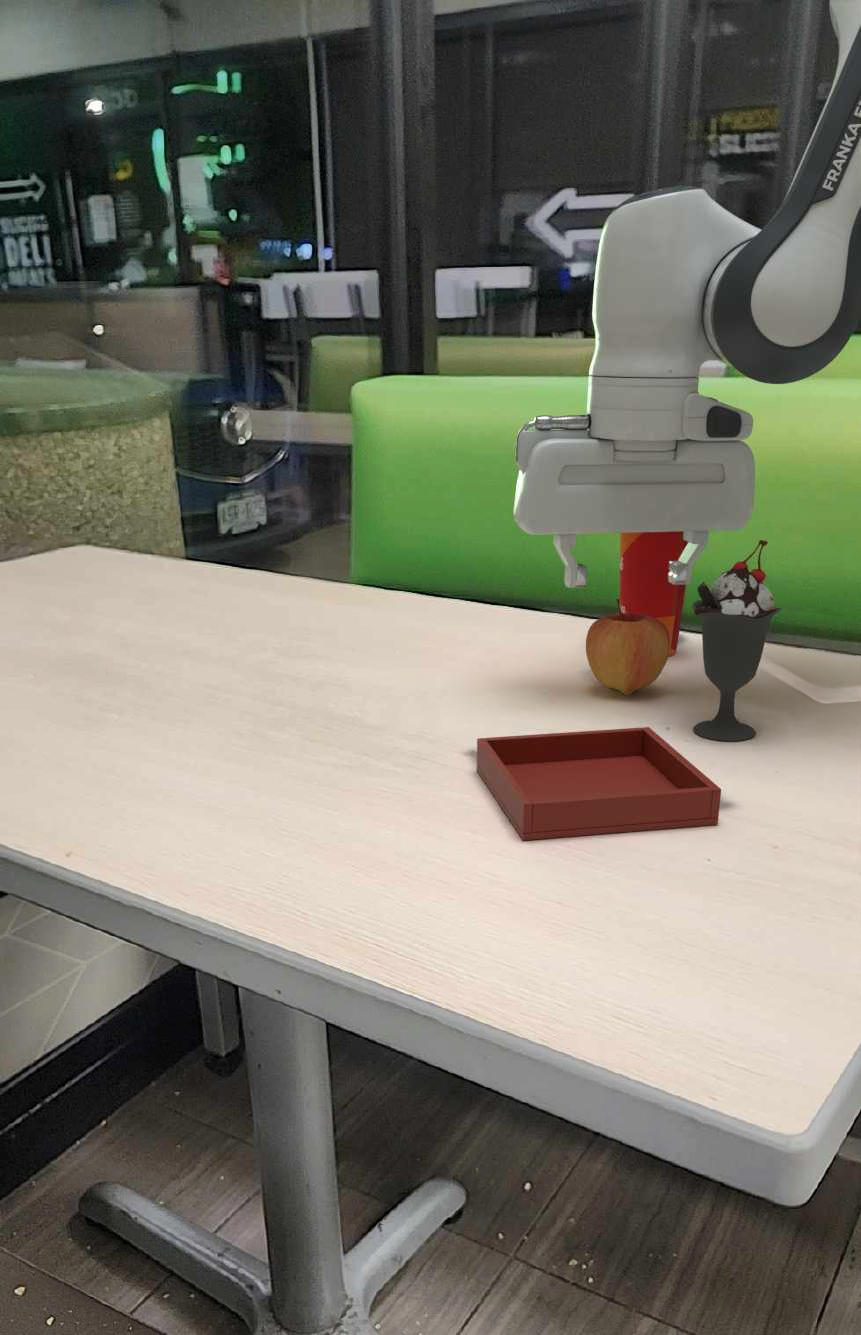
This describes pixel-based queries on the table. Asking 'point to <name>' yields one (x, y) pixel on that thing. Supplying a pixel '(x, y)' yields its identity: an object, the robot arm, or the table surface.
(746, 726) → the sundae
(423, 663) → the table surface
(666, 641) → the apple
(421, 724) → the table surface
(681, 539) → the paper cup
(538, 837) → the red tray
